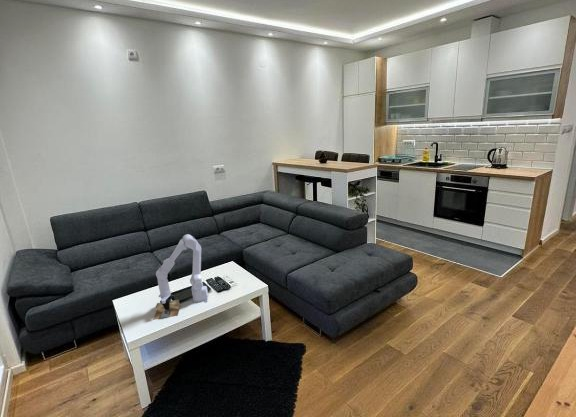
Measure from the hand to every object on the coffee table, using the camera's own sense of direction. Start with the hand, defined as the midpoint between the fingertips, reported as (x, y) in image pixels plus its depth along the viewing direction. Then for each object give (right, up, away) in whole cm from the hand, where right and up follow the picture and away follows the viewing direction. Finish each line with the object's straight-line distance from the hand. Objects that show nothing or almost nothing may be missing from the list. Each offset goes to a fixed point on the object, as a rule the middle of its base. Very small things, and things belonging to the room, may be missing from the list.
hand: (168, 307), depth 188 cm
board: (+1, -2, -4) cm, 4 cm away
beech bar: (0, -1, 0) cm, 1 cm away
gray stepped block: (+1, -3, -7) cm, 8 cm away
